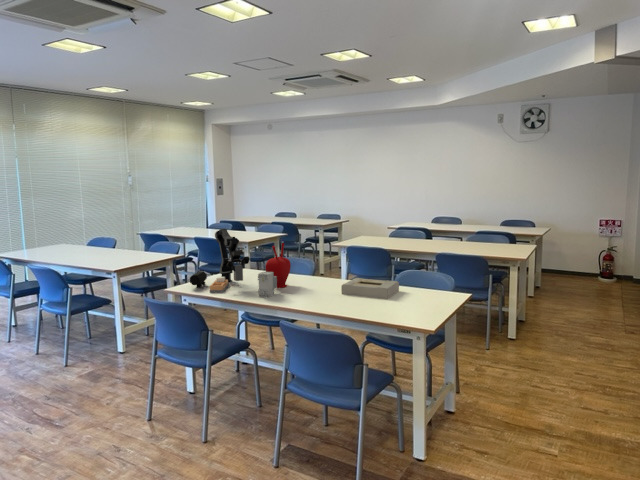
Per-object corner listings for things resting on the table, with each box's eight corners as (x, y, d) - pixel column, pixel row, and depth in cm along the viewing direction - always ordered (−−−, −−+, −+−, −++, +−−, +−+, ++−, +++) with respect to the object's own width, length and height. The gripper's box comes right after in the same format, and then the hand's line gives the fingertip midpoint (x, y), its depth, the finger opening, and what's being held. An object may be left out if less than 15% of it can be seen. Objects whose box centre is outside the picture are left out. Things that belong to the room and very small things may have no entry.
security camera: (208, 283, 340) (207, 270, 339) (199, 289, 322) (198, 275, 321) (199, 283, 341) (198, 270, 340) (189, 289, 323) (189, 275, 321)
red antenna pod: (277, 282, 340) (276, 242, 336) (293, 283, 336) (292, 242, 332) (264, 289, 321) (263, 246, 317) (281, 290, 316) (280, 246, 313)
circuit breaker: (278, 292, 311) (277, 270, 309) (268, 297, 297) (268, 274, 295) (267, 291, 313) (267, 269, 311) (258, 296, 300) (257, 273, 298)
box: (341, 295, 302) (388, 299, 288) (341, 283, 301) (388, 287, 287) (354, 288, 323) (399, 292, 309) (354, 277, 322) (399, 280, 308)
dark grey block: (233, 279, 320) (233, 265, 319) (240, 279, 322) (240, 264, 321) (235, 281, 316) (235, 266, 314) (243, 280, 318) (242, 266, 317)
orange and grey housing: (216, 285, 334) (216, 276, 333) (228, 285, 334) (228, 275, 333) (209, 292, 313) (209, 282, 312) (222, 292, 313) (222, 282, 312)
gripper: (222, 246, 315) (227, 265, 307) (248, 244, 324) (254, 262, 315) (219, 256, 323) (224, 275, 315) (245, 254, 332) (250, 272, 323)
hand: (238, 271), depth 317 cm, fingers closed on dark grey block, 5 cm apart
